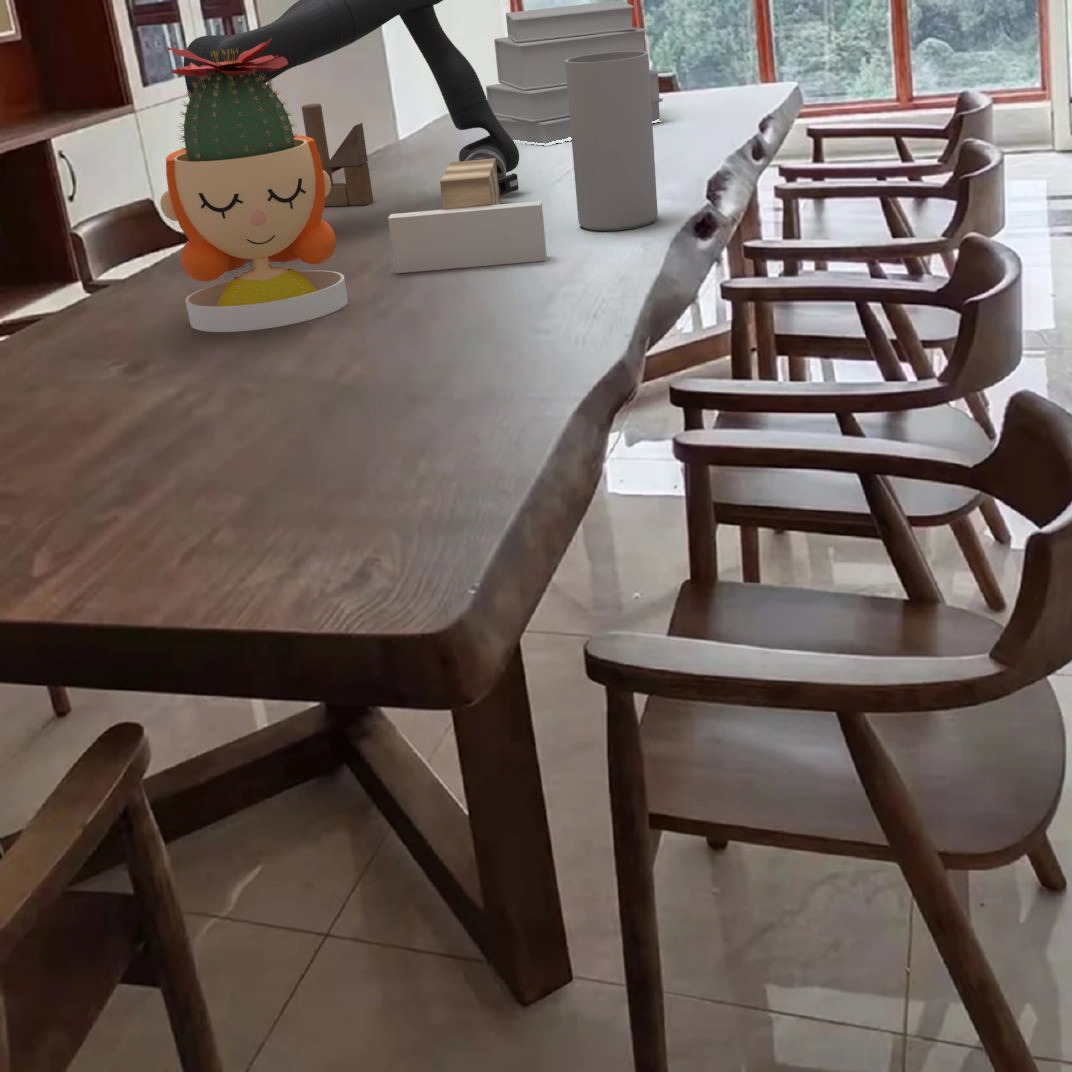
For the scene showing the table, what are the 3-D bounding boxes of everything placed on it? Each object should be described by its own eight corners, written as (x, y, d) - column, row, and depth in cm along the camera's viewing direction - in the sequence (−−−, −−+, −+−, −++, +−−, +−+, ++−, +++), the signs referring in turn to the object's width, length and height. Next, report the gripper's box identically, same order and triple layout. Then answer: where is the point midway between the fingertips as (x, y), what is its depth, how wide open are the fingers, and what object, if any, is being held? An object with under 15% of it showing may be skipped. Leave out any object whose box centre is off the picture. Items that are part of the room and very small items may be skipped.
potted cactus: (359, 312, 184) (317, 33, 170) (189, 341, 179) (131, 56, 165) (333, 279, 203) (293, 25, 189) (179, 304, 198) (126, 45, 184)
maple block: (459, 239, 219) (450, 162, 214) (503, 236, 219) (495, 158, 214) (450, 264, 205) (440, 181, 200) (497, 260, 204) (488, 177, 199)
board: (398, 268, 205) (390, 214, 202) (546, 255, 204) (541, 200, 200) (395, 273, 203) (387, 218, 199) (546, 260, 201) (540, 204, 198)
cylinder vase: (615, 211, 228) (604, 51, 217) (674, 217, 219) (665, 50, 209) (562, 228, 220) (548, 62, 210) (621, 235, 211) (609, 62, 201)
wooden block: (366, 205, 254) (351, 103, 246) (312, 207, 257) (296, 107, 249) (374, 201, 257) (359, 100, 249) (321, 203, 260) (305, 103, 252)
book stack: (475, 139, 315) (461, 19, 304) (598, 114, 332) (589, 0, 321) (551, 149, 292) (539, 19, 281) (679, 122, 309) (673, -1, 298)
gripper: (440, 156, 231) (431, 176, 215) (520, 148, 230) (516, 167, 214) (446, 201, 234) (437, 224, 218) (524, 194, 233) (521, 216, 218)
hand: (476, 196), depth 216 cm, fingers closed
